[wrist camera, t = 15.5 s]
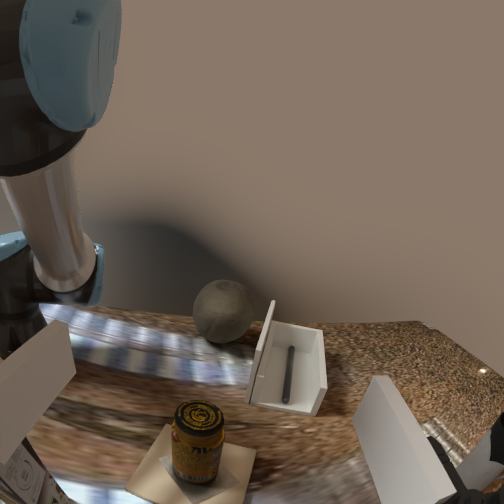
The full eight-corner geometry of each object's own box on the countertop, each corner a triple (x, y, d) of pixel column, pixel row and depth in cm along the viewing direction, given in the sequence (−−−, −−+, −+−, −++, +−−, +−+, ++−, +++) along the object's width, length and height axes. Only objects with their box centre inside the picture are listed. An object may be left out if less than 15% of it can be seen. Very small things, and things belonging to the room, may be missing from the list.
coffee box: (69, 495, 17) (19, 419, 13) (60, 532, 11) (-8, 468, 7) (13, 469, 15) (-40, 383, 12) (0, 500, 9) (-69, 418, 5)
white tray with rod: (244, 403, 44) (255, 349, 41) (262, 344, 65) (272, 300, 63) (315, 416, 42) (336, 365, 39) (314, 354, 63) (327, 311, 61)
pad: (125, 490, 21) (124, 487, 21) (166, 427, 35) (166, 423, 35) (234, 528, 19) (235, 526, 19) (255, 453, 33) (256, 449, 33)
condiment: (203, 443, 32) (209, 387, 30) (240, 483, 26) (256, 433, 24) (158, 459, 27) (152, 403, 25) (192, 505, 21) (194, 461, 19)
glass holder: (446, 465, 26) (495, 402, 23) (499, 479, 18) (549, 418, 15) (437, 500, 20) (498, 438, 16) (495, 512, 11) (557, 451, 8)
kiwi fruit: (177, 340, 60) (181, 280, 57) (211, 320, 73) (217, 267, 69) (230, 365, 55) (241, 301, 51) (258, 339, 67) (269, 284, 64)
